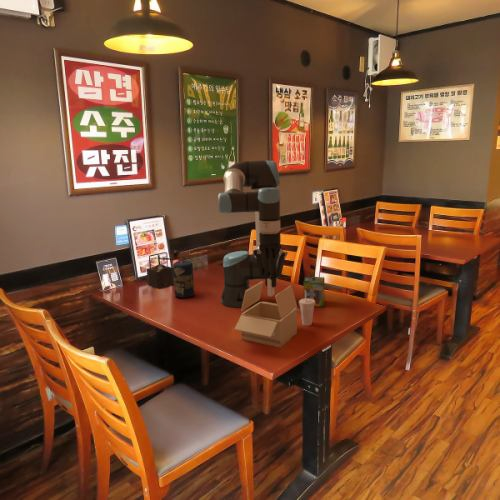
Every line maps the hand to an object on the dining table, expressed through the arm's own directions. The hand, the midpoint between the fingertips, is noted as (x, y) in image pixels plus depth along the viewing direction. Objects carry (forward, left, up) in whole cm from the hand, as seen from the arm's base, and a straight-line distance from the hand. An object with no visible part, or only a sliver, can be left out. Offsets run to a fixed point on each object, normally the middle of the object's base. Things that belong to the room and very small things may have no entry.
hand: (271, 295), depth 156 cm
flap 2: (-1, -10, -8) cm, 13 cm away
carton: (-1, 0, -17) cm, 17 cm away
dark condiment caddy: (-82, +34, -17) cm, 90 cm away
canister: (-60, +23, -17) cm, 66 cm away
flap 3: (+6, 0, -2) cm, 6 cm away
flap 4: (-1, +11, -8) cm, 13 cm away
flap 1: (-8, 0, -2) cm, 8 cm away
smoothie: (+7, +17, -17) cm, 25 cm away
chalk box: (+1, +40, -17) cm, 43 cm away
